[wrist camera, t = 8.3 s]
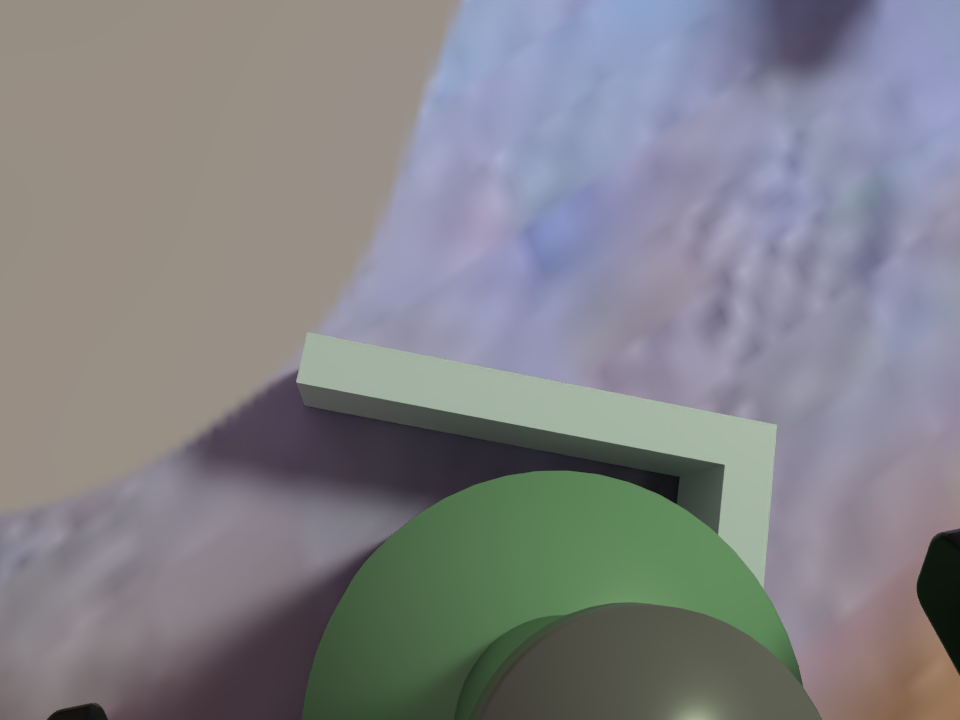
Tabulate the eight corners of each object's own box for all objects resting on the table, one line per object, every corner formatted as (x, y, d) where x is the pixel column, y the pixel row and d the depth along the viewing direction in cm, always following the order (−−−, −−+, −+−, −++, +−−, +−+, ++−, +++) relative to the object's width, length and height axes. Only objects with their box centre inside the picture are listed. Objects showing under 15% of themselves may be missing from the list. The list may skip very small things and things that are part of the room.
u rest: (675, 957, 17) (727, 1022, 15) (195, 891, 16) (166, 948, 14) (726, 441, 20) (777, 425, 17) (314, 361, 19) (307, 331, 16)
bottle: (578, 813, 18) (1008, 1318, 6) (304, 772, 17) (175, 1236, 5) (613, 537, 19) (1019, 499, 7) (361, 491, 18) (357, 371, 7)
